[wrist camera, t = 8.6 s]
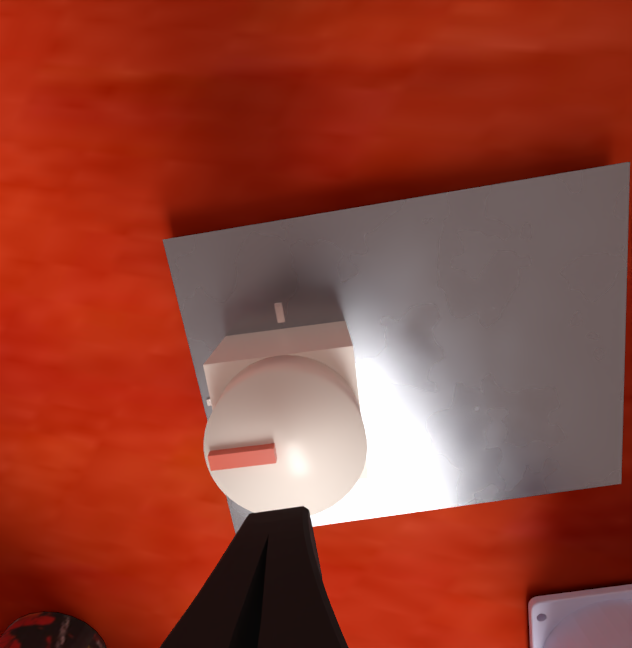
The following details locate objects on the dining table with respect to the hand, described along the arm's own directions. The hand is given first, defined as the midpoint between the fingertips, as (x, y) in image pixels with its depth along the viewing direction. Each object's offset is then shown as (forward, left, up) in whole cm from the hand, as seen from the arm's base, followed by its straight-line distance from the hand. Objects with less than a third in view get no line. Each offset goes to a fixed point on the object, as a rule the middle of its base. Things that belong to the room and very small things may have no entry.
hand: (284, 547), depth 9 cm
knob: (0, 0, -9) cm, 9 cm away
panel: (0, -5, -10) cm, 11 cm away
